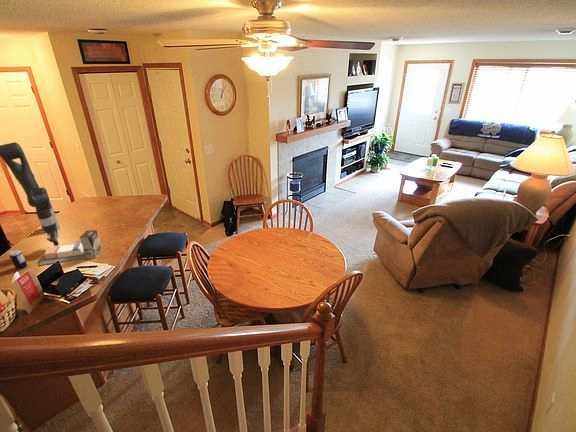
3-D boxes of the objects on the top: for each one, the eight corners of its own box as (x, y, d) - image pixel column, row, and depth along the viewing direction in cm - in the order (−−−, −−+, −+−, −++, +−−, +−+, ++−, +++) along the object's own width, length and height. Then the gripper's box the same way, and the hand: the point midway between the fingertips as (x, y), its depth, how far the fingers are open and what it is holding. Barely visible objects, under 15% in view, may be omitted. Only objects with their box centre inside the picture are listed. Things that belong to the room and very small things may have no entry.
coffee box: (96, 258, 196) (89, 237, 189) (86, 258, 196) (78, 237, 188) (103, 250, 204) (96, 229, 197) (93, 250, 204) (86, 230, 196)
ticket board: (48, 250, 202) (45, 242, 200) (89, 244, 210) (86, 237, 207) (39, 266, 188) (35, 258, 185) (83, 259, 195) (80, 251, 192)
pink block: (50, 252, 199) (48, 247, 197) (60, 250, 201) (58, 245, 199) (46, 259, 192) (43, 253, 190) (57, 257, 194) (55, 252, 192)
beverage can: (25, 263, 189) (18, 248, 184) (29, 267, 186) (22, 251, 181) (14, 268, 185) (6, 252, 179) (18, 271, 182) (10, 255, 177)
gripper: (44, 219, 199) (53, 241, 207) (37, 228, 188) (46, 251, 196) (57, 217, 201) (65, 239, 209) (51, 226, 190) (60, 249, 198)
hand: (56, 245), depth 203 cm, fingers closed
